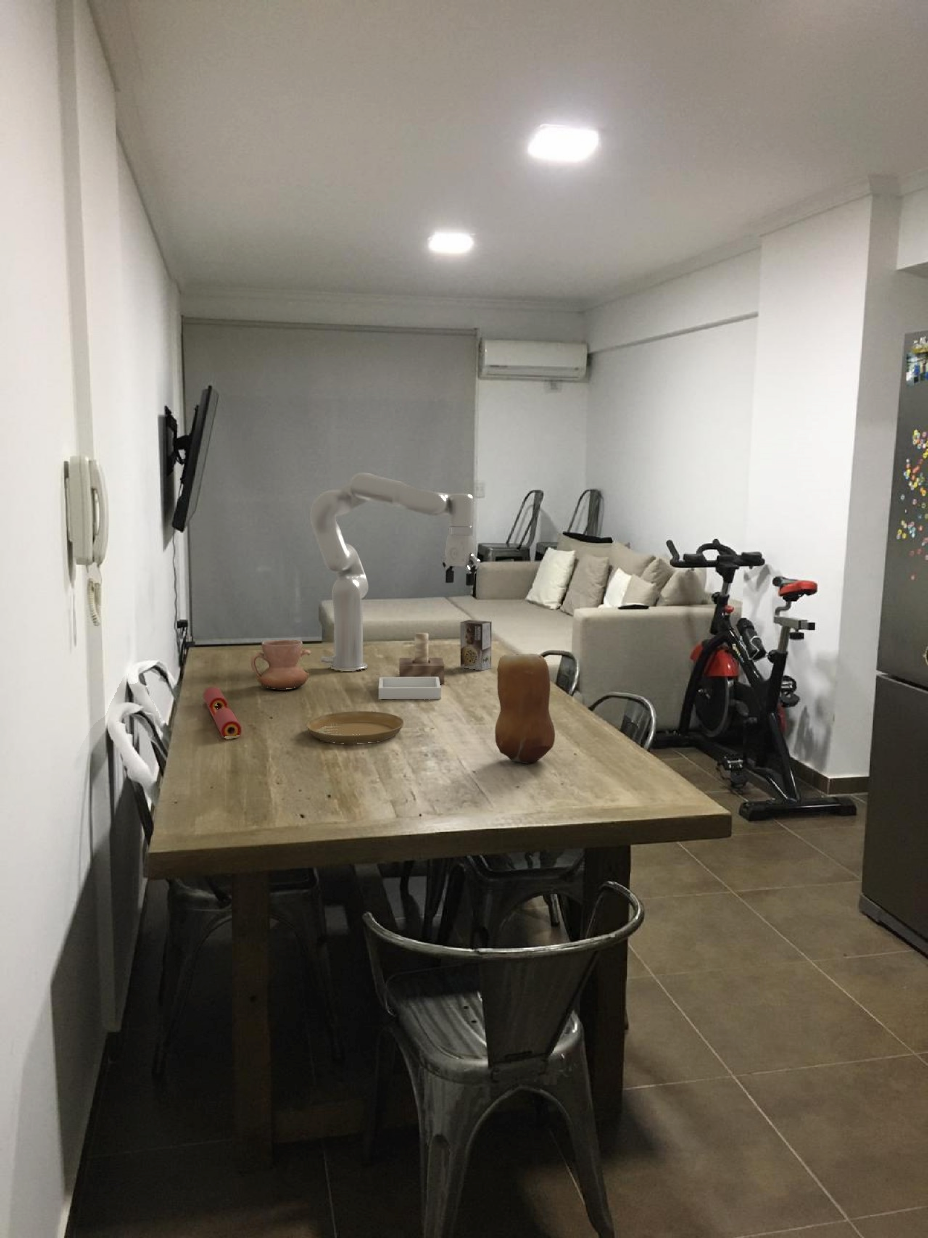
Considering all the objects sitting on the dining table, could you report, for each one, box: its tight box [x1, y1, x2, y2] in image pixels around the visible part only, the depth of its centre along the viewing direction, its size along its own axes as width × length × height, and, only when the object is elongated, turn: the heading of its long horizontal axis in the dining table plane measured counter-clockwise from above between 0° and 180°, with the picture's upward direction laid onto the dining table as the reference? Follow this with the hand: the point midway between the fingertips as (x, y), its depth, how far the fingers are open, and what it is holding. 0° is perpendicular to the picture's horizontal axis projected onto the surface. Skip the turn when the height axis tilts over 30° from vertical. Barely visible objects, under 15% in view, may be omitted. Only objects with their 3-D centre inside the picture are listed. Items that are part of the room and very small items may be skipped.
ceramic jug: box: [250, 639, 311, 689], centre depth 295 cm, size 18×14×14 cm
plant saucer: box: [306, 710, 405, 745], centre depth 242 cm, size 24×24×3 cm
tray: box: [378, 676, 442, 701], centre depth 288 cm, size 18×16×4 cm
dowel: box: [413, 632, 429, 663], centre depth 307 cm, size 4×4×15 cm
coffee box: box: [459, 619, 493, 671], centre depth 328 cm, size 9×6×16 cm
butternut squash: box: [494, 652, 556, 765], centre depth 217 cm, size 14×13×25 cm
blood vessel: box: [203, 686, 242, 738], centre depth 255 cm, size 42×5×5 cm, turn 20°
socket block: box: [398, 657, 445, 685], centre depth 308 cm, size 14×14×6 cm
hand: (459, 584), depth 317 cm, fingers open, 9 cm apart
